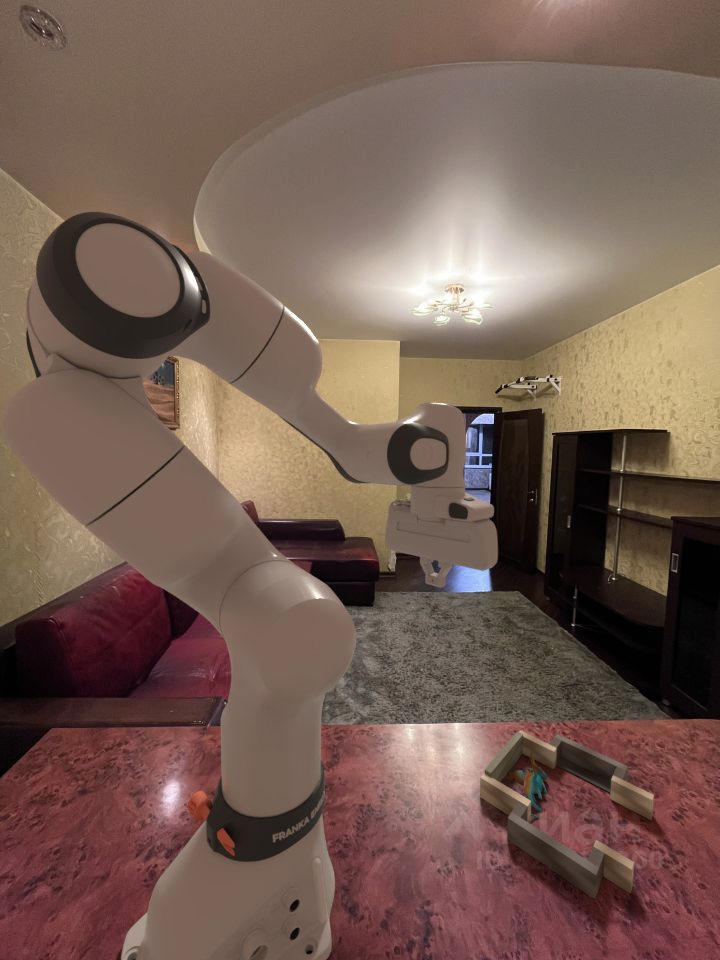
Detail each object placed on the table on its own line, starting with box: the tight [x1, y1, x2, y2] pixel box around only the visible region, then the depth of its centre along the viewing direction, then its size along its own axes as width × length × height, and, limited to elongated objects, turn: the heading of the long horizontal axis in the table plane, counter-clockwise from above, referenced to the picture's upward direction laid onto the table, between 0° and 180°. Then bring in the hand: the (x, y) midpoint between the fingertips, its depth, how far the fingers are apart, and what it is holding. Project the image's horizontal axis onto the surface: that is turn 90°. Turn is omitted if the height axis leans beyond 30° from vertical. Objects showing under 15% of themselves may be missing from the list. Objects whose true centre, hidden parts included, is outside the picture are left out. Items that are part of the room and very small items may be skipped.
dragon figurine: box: [507, 753, 548, 820], centre depth 60 cm, size 7×7×8 cm
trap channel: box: [479, 729, 655, 900], centre depth 59 cm, size 19×22×4 cm
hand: (435, 585), depth 68 cm, fingers closed
